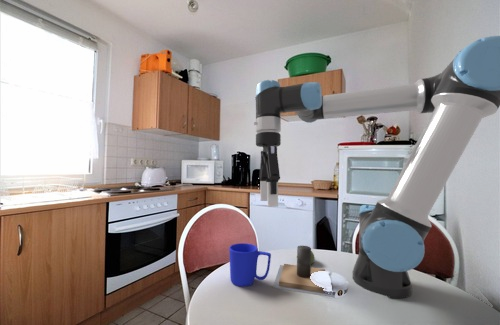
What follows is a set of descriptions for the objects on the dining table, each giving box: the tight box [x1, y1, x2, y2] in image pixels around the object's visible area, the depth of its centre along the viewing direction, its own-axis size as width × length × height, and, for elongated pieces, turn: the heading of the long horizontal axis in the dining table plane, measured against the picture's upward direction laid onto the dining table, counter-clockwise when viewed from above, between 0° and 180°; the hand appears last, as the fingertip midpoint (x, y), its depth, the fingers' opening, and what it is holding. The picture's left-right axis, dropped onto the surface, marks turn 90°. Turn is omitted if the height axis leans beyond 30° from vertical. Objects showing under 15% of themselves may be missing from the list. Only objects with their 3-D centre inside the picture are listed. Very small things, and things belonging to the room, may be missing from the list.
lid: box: [279, 245, 326, 293], centre depth 69 cm, size 13×13×9 cm
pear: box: [311, 250, 315, 265], centre depth 83 cm, size 6×5×10 cm
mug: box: [228, 242, 272, 288], centre depth 66 cm, size 8×12×10 cm
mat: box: [272, 264, 335, 299], centre depth 68 cm, size 16×16×1 cm
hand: (268, 203), depth 68 cm, fingers open, 13 cm apart
